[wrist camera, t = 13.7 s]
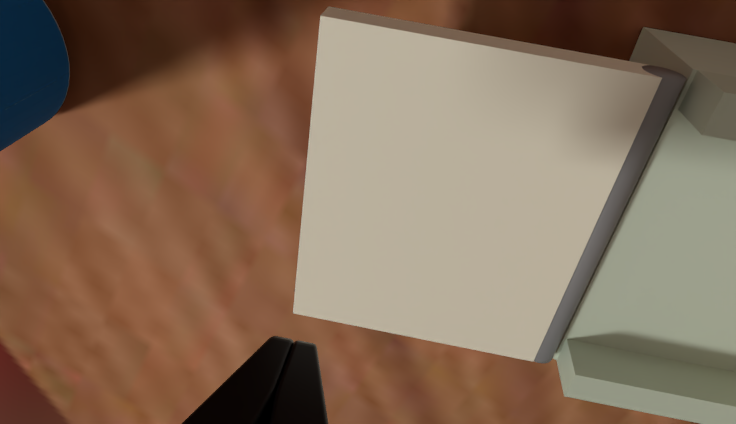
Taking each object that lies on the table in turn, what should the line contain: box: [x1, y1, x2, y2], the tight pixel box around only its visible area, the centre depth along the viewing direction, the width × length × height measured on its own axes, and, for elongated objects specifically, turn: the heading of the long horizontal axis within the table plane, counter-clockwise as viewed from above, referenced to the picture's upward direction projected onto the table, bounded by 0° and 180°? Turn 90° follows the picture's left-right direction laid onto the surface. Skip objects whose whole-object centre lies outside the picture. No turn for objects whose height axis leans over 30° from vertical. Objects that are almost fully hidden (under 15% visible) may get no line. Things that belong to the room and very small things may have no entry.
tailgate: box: [293, 7, 686, 363], centre depth 16 cm, size 10×9×1 cm
